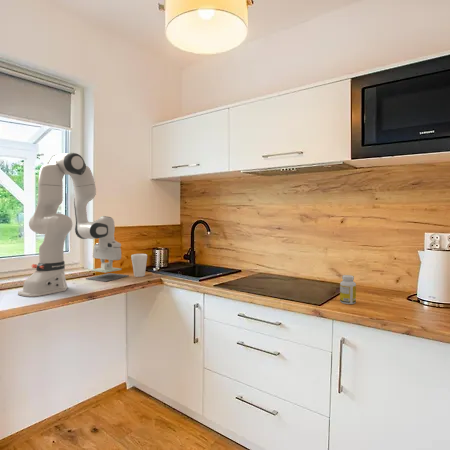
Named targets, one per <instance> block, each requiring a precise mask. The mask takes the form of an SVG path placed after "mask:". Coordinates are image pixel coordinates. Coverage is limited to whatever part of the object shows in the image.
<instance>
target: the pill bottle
mask: <svg viewBox="0 0 450 450" xmlns="http://www.w3.org/2000/svg"><path fill="white" fill-rule="evenodd" d="M341 279H342V281H340V283H339V301H340V303H342V304H343V305H344V304H346V305H353V304H356V302H357V297H356V296H357V283H356V282H355V281H354V279H355V277H354V276H353V275H350V274H344V275H342V278H341Z"/></svg>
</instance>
